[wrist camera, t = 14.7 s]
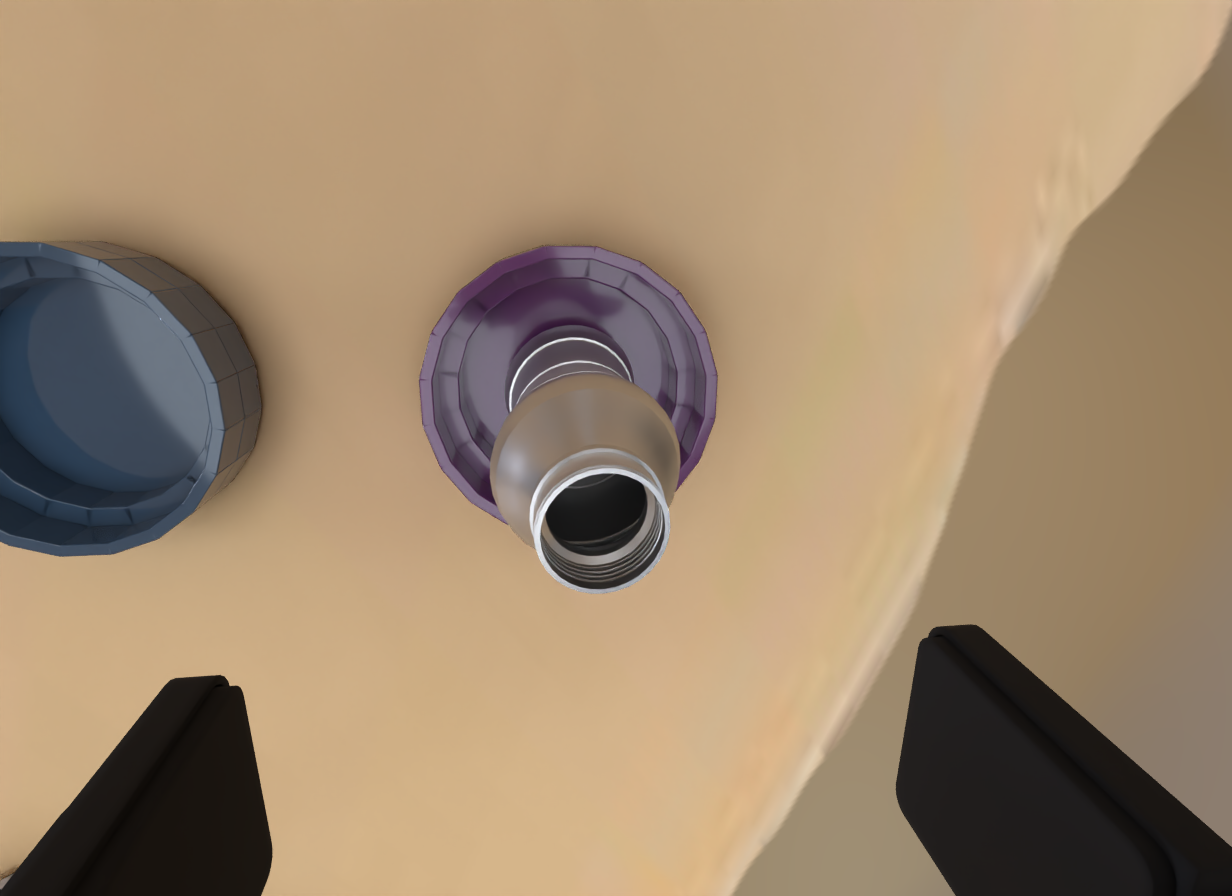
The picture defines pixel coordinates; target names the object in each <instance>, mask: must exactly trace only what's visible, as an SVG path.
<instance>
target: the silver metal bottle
mask: <svg viewBox="0 0 1232 896" xmlns="http://www.w3.org/2000/svg"><path fill="white" fill-rule="evenodd" d="M504 395H505V402H506V408H507V411H508V413H509V415H508V416H507V418H506V419H505V421H504V423H503V426H502V428H501V430H500V432H499V434H498V436H497V438H496V441H495V444H494V448H493V452H492V456H491V461H490V482H491V488H492V493H493V497H494V499H495V502H496V504H497V507H498V509H499V512H500V513H501V515H502V516H503V518H504V519H505V521H506V522H507V523H508V525H509V526H510V528H511V529H512V530H513V531H514V533H515V534H516V535H517V536H518V537H520V538H521V539H522V540H523V541H524V542H525V543H526V544H527V545H529V546H530V547H532V548H534V549H535V550H536V551H537V554H538V556H539V559H540V561H541V563H542V564H543V566H544V567H545V569H546V570H547V572H548V573H549V574H550V575H551V576H552V577H553V578H554V579H555V580H556V581H558V582H560V583H561V584H563V585H564V586H566V587H568V588H571V589H573V590H576V591H579V592H585V593H591V594H599V593H609V592H614V591H618V590H621V589H624V588H626V587H629V586H631V585H632V584H634V583H636V582H638V581H639V580H641V579H642V578H643V577H644V576H646V575H647V574H648V573H649V572H650V571H651V570H652V569H653V568H654V566H655V565H656V564H657V563H658V562H659V560H660V558H661V556H662V555H663V553H664V551H665V548H666V546H667V543H668V540H669V533H670V517H669V510H668V509H669V507H670V505H671V503H672V500H673V497H674V494H675V491H676V487H677V483H678V478H679V470H680V463H681V461H680V448H679V442H678V439H677V435H676V432H675V428H674V426H673V424H672V423H671V421H670V419H669V417H668V415H667V413H666V412H665V411H664V410H663V408H662V407H661V406H660V405H659V404H658V403H657V401H656V400H655V399H654V398H653V397H651V396H650V395H649V394H648V393H647V392H645V391H644V390H643V389H641V388H640V387H639V386H637V385H636V384H634V375H633V371H632V368H631V364H630V361H629V360H628V358H627V356H626V354H625V352H624V351H623V350H622V348H621V347H620V346H619V345H618V344H617V343H616V342H615V341H614V340H613V339H611V338H610V337H609V336H608V335H606V334H605V333H602V332H600V331H598V330H596V329H594V328H590V327H586V326H582V325H565V326H559V327H554V328H552V329H549V330H546V331H543V332H542V333H540V334H538V335H537V336H535V337H533V338H532V339H531V340H529V341H528V342H527V343H526V344H525V345H524V346H523V347H522V348H521V349H520V351H519V352H518V353H517V355H516V356H515V357H514V359H513V361H512V363H511V365H510V367H509V369H508V373H507V377H506V381H505V394H504Z"/></svg>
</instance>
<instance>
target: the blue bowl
mask: <svg viewBox="0 0 1232 896" xmlns="http://www.w3.org/2000/svg"><path fill="white" fill-rule="evenodd" d="M261 407H262V406H261V399H260V392H259V385H258V379H257V372H256V366H255V363H254V361H253V359H252V357H251V355H250V353H249V351H248V349H247V347H246V344H245V342H244V340H243V338H242V336H241V334H240V332H239V330H238V328H237V326H236V324H235V323H234V321H233V320H232V319H231V318H230V317H229V316H228V315H227V314H226V313H225V312H224V310H223V309H222V308H221V307H220V306H219V305H218V304H217V303H216V302H215V301H214V300H213V299H212V297H211V296H210V295H209V294H208V293H207V292H206V291H205V290H204V289H203V288H202V287H201V286H200V285H199V284H198V283H196V282H194V281H193V280H191V279H190V278H188V277H186V276H185V275H183V274H182V273H180V272H178V271H177V270H175V269H174V268H172V267H171V266H169V265H167V264H166V263H164V262H163V261H161V260H159V259H158V258H156V257H153V256H150V255H147V254H144V253H140V252H137V251H134V250H130V249H127V248H124V247H121V246H117V245H114V244H111V243H107V242H99V241H0V542H2V543H4V544H8V546H13V547H18V548H22V549H27V550H32V551H36V552H41V553H45V554H50V555H55V556H59V557H60V556H62V557H64V556H88V555H111V554H116V553H119V552H122V551H125V550H128V549H131V548H134V547H137V546H140V545H143V544H146V543H149V542H151V541H154V540H157V539H159V538H161V537H162V536H163V535H164V534H166V533H167V532H168V531H170V530H171V529H172V528H174V527H175V526H176V525H178V524H179V523H180V522H182V521H183V520H184V519H186V518H187V517H188V516H189V515H191V514H192V513H193V512H195V511H196V510H197V509H198V508H200V507H201V506H202V505H203V504H205V503H206V502H207V501H208V500H210V499H211V498H212V497H213V496H214V495H216V494H217V493H218V492H219V491H221V490H222V489H223V488H224V487H226V486H227V485H228V484H229V483H231V481H233V480H234V478H235V477H236V475H237V473H238V472H239V470H240V469H241V467H242V466H243V464H244V462H245V461H246V459H247V458H248V456H249V454H250V453H251V451H252V450H253V448H254V445H255V440H256V435H257V430H258V425H259V420H260V415H261V410H262V408H261Z"/></svg>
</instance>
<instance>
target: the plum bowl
mask: <svg viewBox="0 0 1232 896" xmlns="http://www.w3.org/2000/svg"><path fill="white" fill-rule="evenodd" d="M565 325H582V326H586V327H590V328H594V329H596V330H598V331H600V332H602V333H605V334H606V335H608V336H609V337H610V338H611V339H613V340H614V341H615V342H616V343H617V344H618V345H619V346H620V347H621V348H622V350H623V351H624V352H625V354H626V356H627V358H628V360H629V361H630V364H631V368H632V371H633V375H634V384H636V385H637V386H639V387H640V388H641V389H643V390H644V391H645V392H647V393H648V394H649V395H650V396H651V397H653V398H654V399H655V400H656V401H657V403H658V404H659V405H660V406H661V407H662V408H663V410H664V411H665V412H666V413H667V415H668V417H669V419H670V421H671V423H672V424H673V426H674V428H675V432H676V435H677V439H678V442H679V448H680V461H681V463H680V470H679V478H678V483H677V487H676V490H677V489H678V488H679V487H680V485H681V484H682V483H683V481H684V480H685V479H686V478H687V476H688V475H689V474H690V472H691V471H692V470H693V469H694V467H695V466H696V465H697V463H698V462H699V460H700V458H701V456H702V453H703V451H704V448H705V445H706V443H707V440H708V437H709V435H710V432H711V429H712V427H713V424H714V421H715V417H716V398H717V379H718V376H717V370H716V367H715V363H714V359H713V356H712V352H711V348H710V344H709V341H708V337H707V333H706V331H705V329H704V327H703V326H702V324H701V323H700V321H699V320H698V318H697V317H696V315H695V314H694V312H693V311H692V309H691V308H690V306H689V305H688V303H687V301H686V300H685V298H684V297H683V295H682V294H681V293H680V292H679V290H677V289H676V288H675V287H673V286H672V285H671V284H670V283H668V282H667V281H666V280H664V279H663V278H662V277H661V276H659V275H658V274H657V273H655V272H654V271H653V270H652V269H650V268H649V267H648V266H646V265H645V264H644V263H642V262H640V261H638V260H635V259H632V258H629V257H626V256H623V255H620V254H617V253H614V252H612V251H609V250H606V249H603V248H600V247H597V246H591V245H541V246H538V247H535V248H532V249H529V250H526V251H523V252H520V253H517V254H514V255H511V256H508V257H505V258H503V259H501V260H499V261H498V262H496V263H495V264H494V265H492V266H491V267H490V268H488V269H487V270H486V271H484V272H483V273H482V274H480V275H479V276H478V277H477V278H475V279H474V280H473V281H471V282H470V283H469V284H467V285H466V286H465V287H463V288H462V289H461V290H460V291H459V292H458V293H457V294H456V295H455V297H454V298H453V300H452V301H451V303H450V304H449V306H448V307H447V309H446V310H445V312H444V314H443V315H442V317H441V318H440V320H439V321H438V323H437V324H436V326H435V327H434V329H433V330H432V333H431V334H430V338H429V342H428V346H427V349H426V353H425V357H424V361H423V365H422V369H421V373H420V377H419V387H420V400H421V413H422V424H423V428H424V430H425V433H426V435H427V437H428V440H429V442H430V444H431V447H432V449H433V451H434V454H435V456H436V459H437V461H438V463H439V466H440V467H441V469H442V470H443V472H444V473H445V474H446V475H447V476H448V477H449V478H450V480H451V481H452V482H453V483H454V484H455V485H456V486H457V488H458V489H459V490H460V491H461V492H462V493H463V494H464V496H465V497H466V498H467V499H468V500H469V501H470V502H471V503H472V504H474V505H476V506H477V507H479V508H481V509H482V510H484V511H486V512H487V513H489V514H490V515H492V516H494V517H495V518H497V519H499V520H500V521H502V522H504V523H505V524H507V525H508V523H507V522H506V521H505V519H504V518H503V516H502V515H501V513H500V512H499V509H498V507H497V504H496V502H495V499H494V497H493V493H492V488H491V482H490V461H491V456H492V452H493V448H494V444H495V441H496V438H497V436H498V434H499V432H500V430H501V428H502V426H503V423H504V421H505V419H506V418H507V416H508V415H509V413H508V411H507V408H506V402H505V395H504V394H505V381H506V377H507V373H508V369H509V367H510V365H511V363H512V361H513V359H514V357H515V356H516V355H517V353H518V352H519V351H520V349H521V348H522V347H523V346H524V345H525V344H526V343H527V342H528V341H529V340H531V339H532V338H533V337H535V336H537V335H538V334H540V333H542V332H543V331H546V330H549V329H552V328H554V327H559V326H565ZM675 492H676V491H675Z"/></svg>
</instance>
